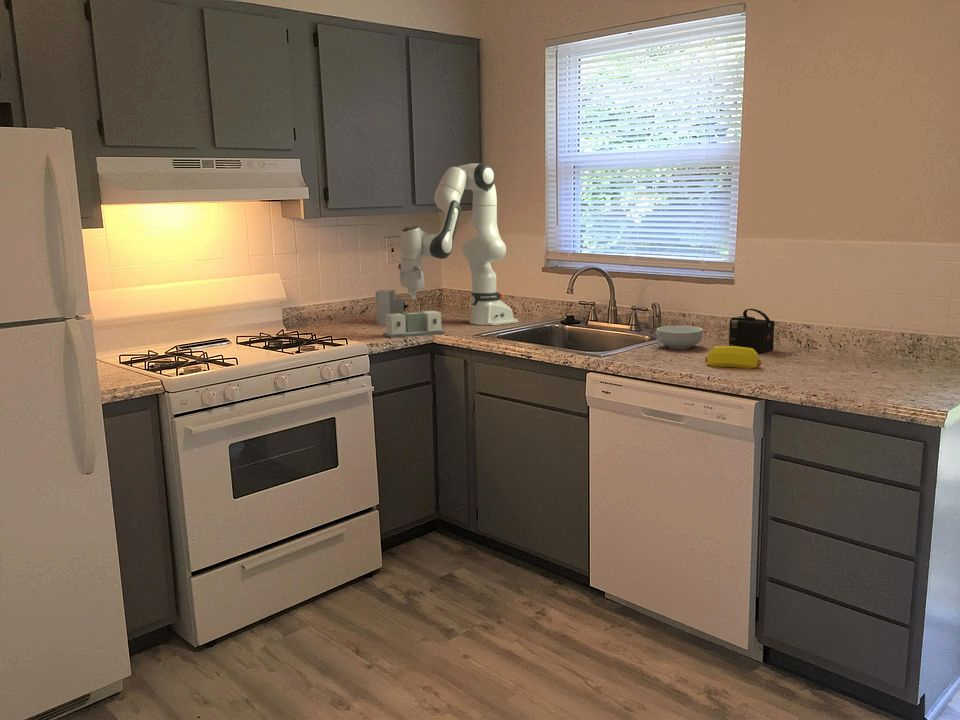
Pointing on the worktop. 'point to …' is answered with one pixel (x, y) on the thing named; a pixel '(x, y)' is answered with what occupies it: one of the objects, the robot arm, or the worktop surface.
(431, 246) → the robot arm
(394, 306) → the circuit breaker
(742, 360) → the yellow rounded bar
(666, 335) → the cereal bowl
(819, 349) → the worktop surface
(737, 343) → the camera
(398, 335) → the rail base
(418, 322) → the block
